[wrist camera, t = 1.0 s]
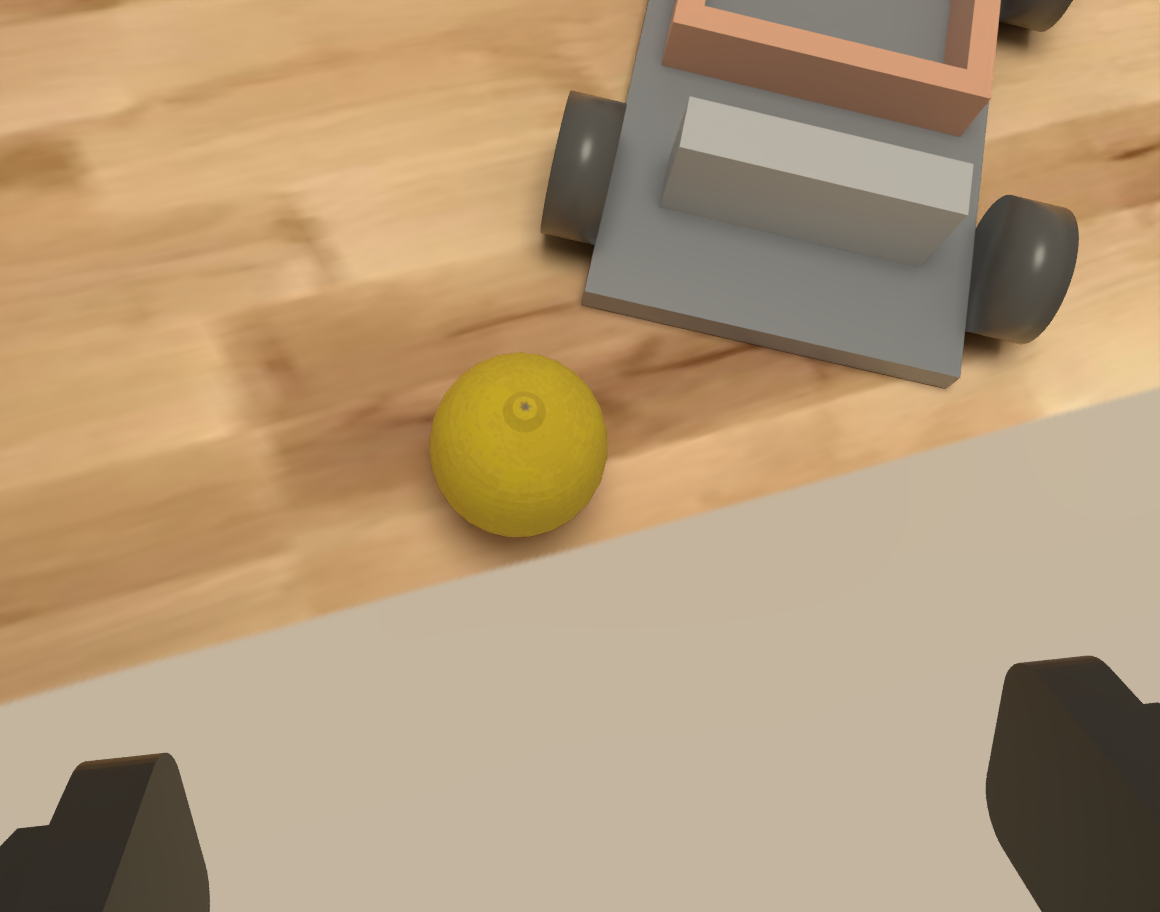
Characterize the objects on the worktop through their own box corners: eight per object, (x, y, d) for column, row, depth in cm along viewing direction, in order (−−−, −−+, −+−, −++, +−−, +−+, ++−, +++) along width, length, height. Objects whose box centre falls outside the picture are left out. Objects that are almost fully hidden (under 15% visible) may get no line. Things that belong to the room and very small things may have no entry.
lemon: (624, 478, 37) (664, 408, 29) (513, 589, 35) (525, 547, 27) (513, 372, 37) (524, 277, 30) (400, 477, 36) (380, 405, 28)
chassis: (528, 292, 38) (536, 224, 33) (637, -167, 44) (658, -283, 39) (996, 400, 39) (1073, 349, 34) (1039, -67, 45) (1110, -168, 40)
